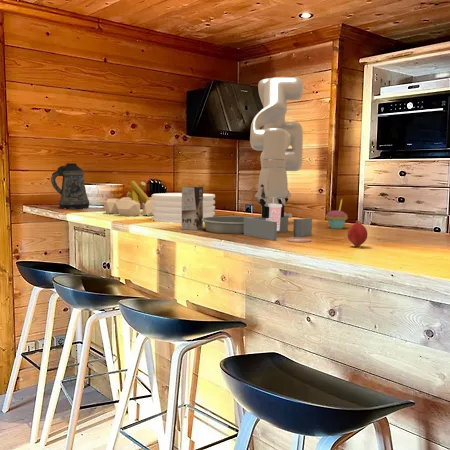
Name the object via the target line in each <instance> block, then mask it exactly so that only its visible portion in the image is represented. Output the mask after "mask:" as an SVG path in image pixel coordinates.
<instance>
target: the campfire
mask: <svg viewBox="0 0 450 450" xmlns="http://www.w3.org/2000/svg"><path fill="white" fill-rule="evenodd" d="M129 185H130V188H131V191H127V193H126V196H125V197H123V196H122V197H121V198H107V199H106V201H105V202H104V205H103V206H102V208H103V209H104V210H105V212H106V214H107V215H118V214H119V216H120V217H137V216H139V215H142V216H146V215H147V216H146V217H154V215H152V211H154V209H152V206H153V205H154V204H153V203H152V200H154V198H153V197H152V196H150V197H149V196H148V195H147V194H146V193H145V191H144V189H145V187H146V186H147V184H146V181H145V182H144V181H141V182H140V183H139V185H138V183H137V182H136V181H135V180H134V179H133V180H131V181H130V182H129ZM141 210H142V212H141ZM117 213H118V214H117Z"/></svg>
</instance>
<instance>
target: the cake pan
mask: <svg viewBox="0 0 450 450" xmlns="http://www.w3.org/2000/svg"><path fill="white" fill-rule="evenodd" d="M249 217H250V216H243V215H242V216H239V215H238V216H237V215H226V216H225V215H221V216H219V215H218V216H215V215H214V216H213V217H205V218H202V221H204V222H203V224H204V227H205V231H207V232H208V233H209V232H210V233H216V234H234V235H236V234H237V235H241V234H242V233H244V218H249Z"/></svg>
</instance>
